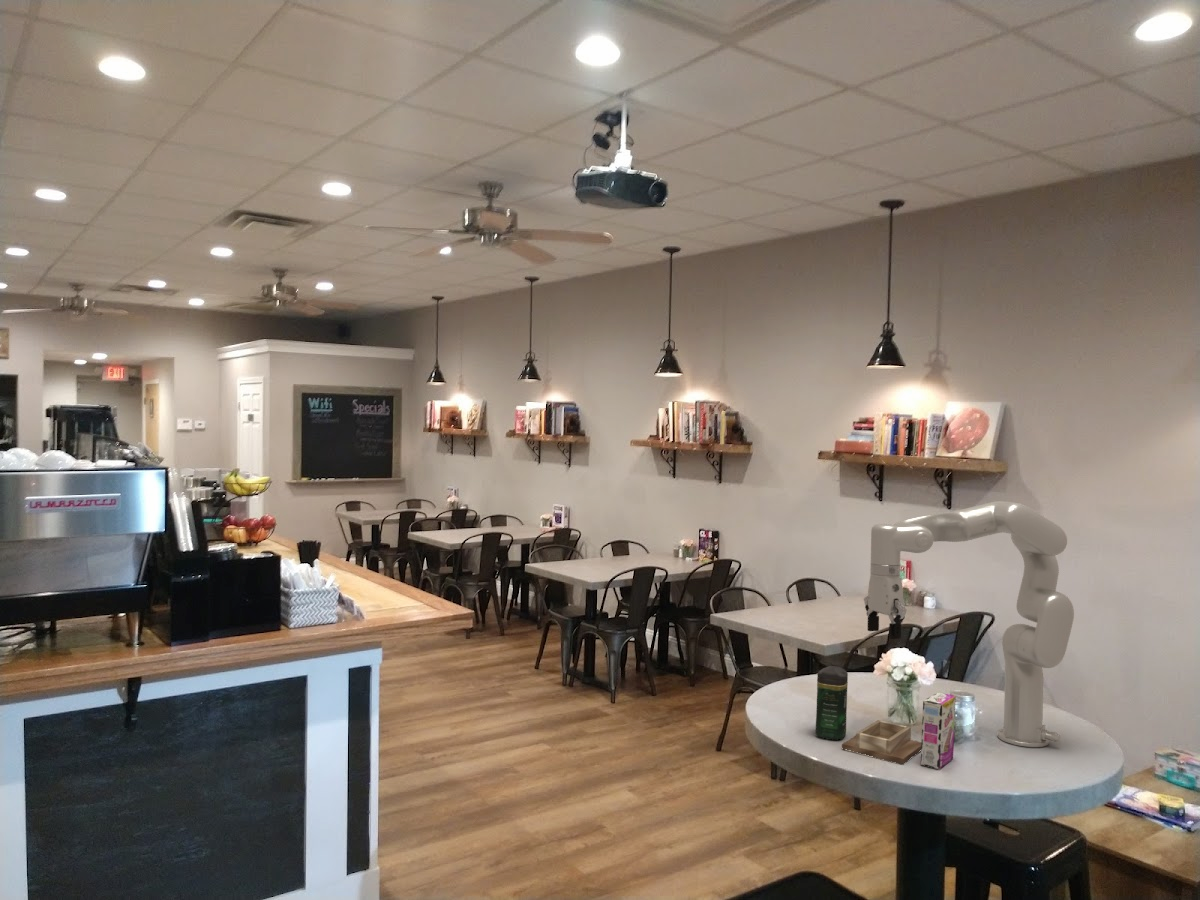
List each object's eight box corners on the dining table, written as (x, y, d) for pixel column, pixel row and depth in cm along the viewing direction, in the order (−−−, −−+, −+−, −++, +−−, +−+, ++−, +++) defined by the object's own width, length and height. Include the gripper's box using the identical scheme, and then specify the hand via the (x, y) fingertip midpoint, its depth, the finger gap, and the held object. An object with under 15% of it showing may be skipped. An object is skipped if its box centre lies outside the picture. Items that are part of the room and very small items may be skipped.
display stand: (924, 748, 230) (924, 729, 230) (902, 764, 217) (903, 744, 217) (865, 735, 240) (866, 716, 240) (841, 749, 227) (842, 730, 227)
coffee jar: (842, 743, 233) (844, 673, 233) (812, 738, 236) (814, 669, 236) (848, 732, 241) (850, 666, 241) (820, 728, 245) (821, 662, 245)
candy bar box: (940, 770, 214) (942, 704, 214) (920, 765, 217) (921, 700, 217) (954, 759, 223) (956, 695, 223) (935, 754, 226) (936, 691, 226)
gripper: (917, 575, 225) (916, 641, 225) (878, 566, 242) (876, 627, 242) (892, 575, 223) (891, 642, 223) (854, 566, 240) (853, 628, 240)
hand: (883, 634), depth 232 cm, fingers open, 9 cm apart
